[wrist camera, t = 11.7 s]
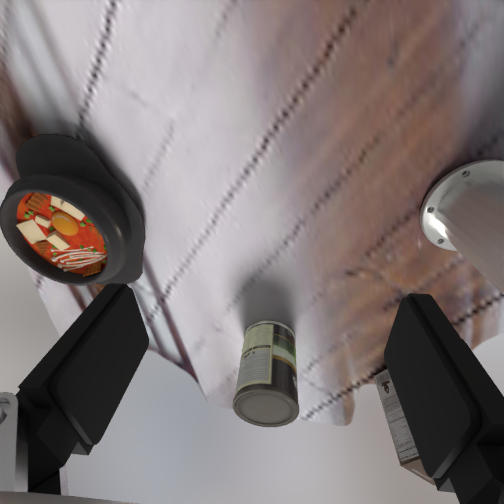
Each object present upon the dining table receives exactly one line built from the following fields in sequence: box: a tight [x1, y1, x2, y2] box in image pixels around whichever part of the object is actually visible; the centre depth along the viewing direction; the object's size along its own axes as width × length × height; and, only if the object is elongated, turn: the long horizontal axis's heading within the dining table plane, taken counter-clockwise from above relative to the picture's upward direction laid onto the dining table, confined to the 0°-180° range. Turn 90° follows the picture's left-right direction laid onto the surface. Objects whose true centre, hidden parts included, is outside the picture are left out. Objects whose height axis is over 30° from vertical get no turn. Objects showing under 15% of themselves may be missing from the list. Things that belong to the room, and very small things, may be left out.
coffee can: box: [233, 320, 299, 427], centre depth 48 cm, size 10×10×14 cm
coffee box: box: [374, 369, 435, 485], centre depth 50 cm, size 9×6×16 cm
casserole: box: [0, 134, 145, 286], centre depth 40 cm, size 25×19×8 cm
